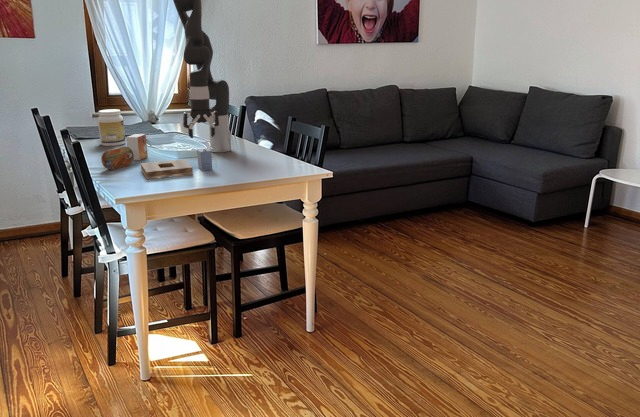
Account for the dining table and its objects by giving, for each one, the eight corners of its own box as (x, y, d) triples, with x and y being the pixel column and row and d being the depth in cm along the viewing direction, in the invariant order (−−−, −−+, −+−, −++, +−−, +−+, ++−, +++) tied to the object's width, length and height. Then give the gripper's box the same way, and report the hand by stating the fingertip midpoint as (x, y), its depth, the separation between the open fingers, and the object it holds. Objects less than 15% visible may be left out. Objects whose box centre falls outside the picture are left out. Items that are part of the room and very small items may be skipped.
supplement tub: (129, 144, 296) (125, 110, 290) (104, 147, 289) (100, 113, 284) (121, 140, 305) (118, 107, 300) (97, 143, 299) (93, 110, 293)
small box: (139, 160, 262) (137, 137, 258) (128, 160, 263) (125, 136, 259) (148, 156, 269) (146, 134, 266) (137, 156, 270) (134, 133, 267)
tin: (106, 171, 243) (104, 151, 240) (101, 170, 245) (99, 150, 242) (135, 164, 255) (133, 145, 253) (130, 163, 257) (128, 144, 254)
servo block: (207, 165, 252) (206, 145, 249) (213, 170, 244) (212, 149, 241) (197, 166, 250) (196, 146, 247) (202, 171, 242) (201, 150, 239)
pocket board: (184, 166, 251) (184, 159, 250) (192, 174, 237) (192, 167, 236) (141, 170, 244) (140, 163, 243) (147, 179, 230) (146, 172, 229)
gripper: (214, 95, 244) (216, 134, 249) (180, 97, 239) (182, 136, 243) (219, 97, 237) (221, 137, 242) (183, 99, 232) (186, 139, 237)
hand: (202, 137), depth 243 cm, fingers open, 8 cm apart
